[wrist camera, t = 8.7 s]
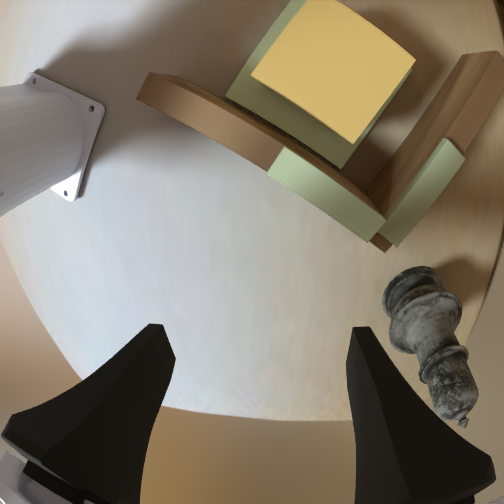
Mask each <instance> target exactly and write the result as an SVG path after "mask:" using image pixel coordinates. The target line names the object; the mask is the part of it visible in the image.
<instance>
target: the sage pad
mask: <svg viewBox="0 0 504 504" xmlns="http://www.w3.org/2000/svg"><path fill="white" fill-rule="evenodd" d="M306 1H307V0H291V1H290V2H289V3H288V5H287V6H286V7H285V9H284V10H283V11H282V12H281V14H280V15H279V16H278V18H277V19H276V20H275V22H274V23H273V24H272V26H271V27H270V29H269V30H268V31H267V33H266V34H265V36H264V37H263V38H262V40H261V41H260V43H259V44H258V45H257V47H256V48H255V50H254V51H253V53H252V54H251V56H250V57H249V59H248V60H247V62H246V63H245V65H244V66H243V68H242V69H241V71H240V72H239V74H238V75H237V77H236V79H235V80H234V82H233V83H232V85H231V87H230V88H229V90H228V91H227V93H226V95H225V97H227V98H229V99H231V100H233V101H235V102H236V103H238V104H240V105H242V106H243V107H245V108H247V109H249V110H250V111H252V112H254V113H256V114H257V115H259V116H261V117H262V118H264V119H266V120H267V121H269V122H271V123H272V124H274V125H276V126H277V127H279V128H280V129H282V130H284V131H285V132H287V133H288V134H290V135H292V136H293V137H295V138H296V139H298V140H299V141H301V142H302V143H304V144H305V145H307V146H308V147H310V148H311V149H313V150H314V151H316V152H317V153H319V154H320V155H321V156H323V157H324V158H326V159H327V160H329V161H330V162H331V163H333V164H334V165H336V166H337V167H338V168H340V169H341V168H342V167H343V166H344V164H345V163H346V162H347V160H348V159H349V158H350V156H351V155H352V154H353V152H354V151H355V149H356V148H357V147H358V145H359V144H360V143H361V141H362V140H363V138H364V137H365V136H366V134H367V133H368V132H369V130H370V129H371V127H372V126H373V125H374V123H375V122H376V121H377V119H378V118H379V116H380V115H381V114H382V112H383V111H384V109H385V108H386V107H387V105H388V104H389V102H390V101H391V100H392V98H393V97H394V95H395V94H396V93H397V91H398V90H399V88H400V87H401V85H402V84H403V83H404V81H405V80H406V78H407V77H408V75H409V74H410V73H411V71H412V69H411V68H410V69H409V70H408V72H407V73H406V75H405V76H404V77H403V79H402V80H401V81H400V83H399V84H398V85H397V87H396V88H395V89H394V91H393V92H392V93H391V95H390V96H389V97H388V99H387V100H386V101H385V103H384V104H383V105H382V107H381V108H380V109H379V111H378V112H377V113H376V115H375V116H374V117H373V119H372V120H371V121H370V123H369V124H368V125H367V127H366V128H365V129H364V131H363V132H362V133H361V135H360V136H359V137H358V138H357V140H356V141H355V142H354V144H352V143H351V142H349V141H348V140H346V139H345V138H343V137H342V136H340V135H339V134H337V133H335V132H334V131H333V130H331V129H330V128H329V127H327V126H326V125H324V124H323V123H322V122H320V121H319V120H317V119H316V118H315V117H313V116H312V115H310V114H309V113H307V112H306V111H304V110H303V109H301V108H300V107H298V106H297V105H295V104H294V103H292V102H291V101H289V100H288V99H286V98H285V97H283V96H281V95H280V94H278V93H277V92H275V91H273V90H272V89H270V88H268V87H267V86H265V85H263V84H262V83H260V82H259V81H258V80H256V79H255V78H254V77H252V76H251V74H252V73H253V71H254V70H255V68H256V67H257V65H258V64H259V63H260V61H261V60H262V58H263V57H264V56H265V54H266V53H267V51H268V50H269V49H270V47H271V46H272V45H273V43H274V42H275V41H276V39H277V38H278V37H279V35H280V34H281V33H282V31H283V30H284V29H285V27H286V26H287V25H288V24H289V22H290V21H291V20H292V19H293V17H294V16H295V15H296V14H297V12H298V11H299V10H300V9H301V7H302V6H303V5H304V4H305V3H306Z"/></svg>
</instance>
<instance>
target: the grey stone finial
mask: <svg viewBox="0 0 504 504" xmlns="http://www.w3.org/2000/svg"><path fill="white" fill-rule="evenodd" d="M382 304H383V308H384V311H385V313H386V314H387V315H388V316H389V317H390V318H391V325H390V330H389V339H390V343H391V344H392V346H393V347H394V348H395V349H396V350H398V351H399V352H402V353H406V354H416V355H417V358H418V361H419V364H420V367H421V368H420V371H419V379H420V381H421V382H423V383H425V384H427V385H428V388H429V391H430V395H431V398H432V402H433V405H434V408H435V412H436V414H437V415H438V417H439V418H441V419H443V420H459V423H458V425H461V427H463V428H466V425H467V424H468V420H469V418H466V415H467V414H468V413H469V411H470V410H471V409H472V408H473V406H474V405H475V404H476V402H477V398H478V395H479V394H478V389H477V386H476V383H475V381H474V379H473V376H472V374H471V371H470V369H469V367H468V364H467V360H468V356H469V353H468V350H467V348H466V347H464V346H461V345H460V344H459V342H458V340H457V338H456V336H455V334H454V331H455V330H456V328H457V326H458V324H459V322H460V319H461V316H462V305H461V302H460V300H459V299H458V298H457V296H456V295H455V294H453V293H450V292H448V291H447V290H445V289H443V288H442V281H441V279H440V277H439V275H438V274H437V273H436V272H435V271H434V270H433V269H430V268H428V267H421V266H420V267H413V268H410V269H408V270H405V271H403V272H402V273H400V274H399V275H397V276H396V277H395V278H394V279H393V280H392V281H391V282H390V283H389V285H388V286H387V288H386V289H385V292H384V295H383V300H382Z"/></svg>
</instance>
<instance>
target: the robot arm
mask: <svg viewBox="0 0 504 504" xmlns="http://www.w3.org/2000/svg"><path fill="white" fill-rule="evenodd" d="M92 106H94V111H92ZM104 113H105V108H104V106H103V105H102V104H100V103H98V102H96V101H94V100H92V99H90V98H88V97H86V96H83V95H81V94H79V93H77V92H75V91H73V90H71V89H69V88H66V87H64V86H62V85H60V84H58V83H55V82H53V81H51V80H49V79H46V78H44V77H42V76H40V75H37V74H35V73H28V74H27V75H26V77H25V80H24V83H23V84H18V85H11V86H5V87H0V217H1V216H2V215H4V214H5V213H7V212H9V211H10V210H12V209H14V208H15V207H17V206H19V205H20V204H22V203H24V202H25V201H27V200H29V199H31V198H32V197H34V196H36V195H38V194H39V193H41V192H43V191H45V190H47V189H49V188H51V189H52V190H54V191H55V192H56V193H58V194H59V195H61V196H62V197H64V198H65V199H67V200H68V201H70V202H73V201H75V200H76V199H77V196H78V193H79V189H80V185H81V181H82V178H83V174H84V171H85V168H86V164H87V161H88V158H89V155H90V152H91V149H92V146H93V143H94V140H95V137H96V134H97V131H98V129H99V126H100V123H101V121H102V118H103V115H104ZM67 192H68V194H67ZM175 360H176V358H175V355H174V353H173V350H172V348H171V345H170V343H169V340H168V337H167V335H166V332H165V329H164V327H163V325H162V324H148V325H147V326H146V327H145V328H144V329H143V330H141V331H140V332H139V333H138V334H137V335H136V336H135V337H134V338H133V339H132V340H131V341H129V342H128V343H127V344H126V345H125V346H124V347H123V348H122V349H121V350H120V351H118V352H117V353H116V354H115V355H114V356H113V357H112V358H111V359H109V360H108V361H107V362H106V363H105V364H103V365H102V366H101V367H100V368H99V369H97V370H96V371H95V372H94V373H92V374H91V375H90V376H88V377H87V378H86V379H84V380H83V381H82V382H80V383H78V384H77V385H75V386H74V387H73V388H71V389H69V390H67V391H66V392H64V393H62V394H60V395H59V396H57V397H55V398H53V399H51V400H49V401H47V402H45V403H43V404H41V405H38V406H36V407H33V408H31V409H28V410H25V411H22V412H19V413H16V414H12V416H11V418H10V419H9V421H8V423H7V425H6V426H5V428H4V430H3V432H2V434H1V438H2V439H3V440H4V441H5V442H7V443H8V444H9V445H10V446H11V447H13V448H14V449H15V450H16V451H18V452H19V453H20V454H21V455H22V456H24V457H25V458H26V459H28V461H27V463H24V462H23V461H21V460H20V459H19V458H17V457H16V456H14V455H13V454H12V453H10V452H9V451H8V450H6V451H5V452H4V454H3V456H2V458H1V460H0V500H1V501H2V502H3V503H4V504H140V491H141V481H142V474H143V467H144V462H145V457H146V452H147V447H148V443H149V439H150V435H151V431H152V428H153V425H154V422H155V419H156V417H157V414H158V412H159V409H160V406H161V404H162V401H163V399H164V396H165V394H166V391H167V389H168V386H169V383H170V381H171V377H172V373H173V369H174V365H175ZM346 374H347V388H348V394H349V400H350V406H351V413H352V419H353V425H354V432H355V441H356V489H355V504H474V503H475V499H474V495H475V494H476V493H478V492H480V491H482V490H483V489H485V488H486V487H488V486H490V485H491V484H492V483H494V481H495V480H496V475H495V470H494V465H493V462H492V459H491V457H490V456H489V455H488V454H486V453H485V452H483V451H481V450H480V449H478V448H476V447H475V446H473V445H472V444H470V443H469V442H468V441H466V440H465V439H464V438H462V437H461V436H460V435H458V434H457V433H456V432H455V431H454V430H453V429H451V428H450V427H449V426H448V425H447V424H446V423H445V422H444V421H442V420H441V419H440V418H439V417H438V416H437V415H436V414H435V413H434V412H433V411H432V410H431V409H430V408H429V407H428V406H427V405H426V404H425V403H424V401H423V400H422V399H421V398H420V397H419V396H418V395H417V393H416V392H415V391H414V390H413V389H412V387H411V386H410V385H409V384H408V382H407V381H406V380H405V379H404V377H403V376H402V375H401V373H400V372H399V370H398V369H397V368H396V366H395V365H394V363H393V362H392V361H391V359H390V358H389V356H388V355H387V353H386V352H385V350H384V349H383V347H382V346H381V344H380V342H379V341H378V339H377V338H376V336H375V334H374V333H373V331H372V329H371V328H370V327H369V326H367V327H353V329H352V334H351V340H350V345H349V350H348V355H347V360H346ZM487 504H504V496H501V497H499V498H497V499H495V500H493V501H491V502H489V503H487Z"/></svg>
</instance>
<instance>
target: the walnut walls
mask: <svg viewBox="0 0 504 504" xmlns="http://www.w3.org/2000/svg"><path fill="white" fill-rule="evenodd" d="M503 89H504V58H503V57H502V56H501V55H500V53H499V52H498V51H488V52H480V53H472V54H465V55H462V57H461V58H460V60H459V61H458V63H457V64H456V66H455V68H454V69H453V71H452V72H451V74H450V75H449V77H448V78H447V80H446V81H445V83H444V84H443V86H442V87H441V89H440V90H439V92H438V93H437V95H436V96H435V98H434V99H433V101H432V102H431V104H430V105H429V107H428V108H427V110H426V111H425V112H424V114H423V115H422V117H421V118H420V120H419V121H418V122H417V124H416V125H415V127H414V128H413V129H412V131H411V132H410V134H409V135H408V136H407V138H406V139H405V141H404V142H403V143H402V145H401V146H400V147H399V149H398V150H397V152H396V153H395V154H394V156H393V157H392V158H391V160H390V161H389V162H388V164H387V165H386V166H385V168H384V169H383V170H382V172H381V173H380V174H379V176H378V177H377V178H376V180H375V181H374V182H373V183H372V185H371V186H370V187H369V189H368V190H367V191H366V192H365V191H363V190H362V189H361V188H359V187H358V186H357V185H355V184H354V183H353V182H351V181H350V180H349V179H347V178H346V177H345V176H343V175H342V174H341V173H339V172H338V171H336V170H335V169H334V168H332V167H331V166H329V165H328V164H327V163H325V162H324V161H322V160H321V159H319V158H318V157H317V156H315V155H314V154H312V153H311V152H309V151H308V150H306V149H305V148H303V147H302V146H300V145H299V144H297V143H296V142H294V141H292V140H291V139H289V138H288V137H286V136H285V135H283V134H281V133H280V132H278V131H277V130H275V129H273V128H272V127H270V126H269V125H267V124H265V123H264V122H262V121H260V120H259V119H257V118H255V117H253V116H252V115H250V114H248V113H247V112H245V111H243V110H241V109H239V108H238V107H236V106H234V105H232V104H230V103H229V102H227V101H225V100H223V99H221V98H219V97H217V96H216V95H214V94H212V93H210V92H208V91H206V90H204V89H202V88H200V87H198V86H196V85H194V84H192V83H190V82H188V81H186V80H184V79H182V78H180V77H176V76H170V75H163V74H156V73H149V74H148V76H147V78H146V80H145V82H144V84H143V86H142V88H141V90H140V92H139V94H138V96H137V98H136V99H137V100H139V101H141V102H143V103H145V104H147V105H149V106H151V107H153V108H155V109H157V110H159V111H161V112H163V113H165V114H167V115H169V116H171V117H173V118H175V119H176V120H178V121H180V122H182V123H184V124H186V125H188V126H189V127H191V128H193V129H195V130H197V131H199V132H200V133H202V134H204V135H206V136H208V137H209V138H211V139H213V140H215V141H216V142H218V143H220V144H222V145H223V146H225V147H227V148H229V149H230V150H232V151H234V152H235V153H237V154H239V155H240V156H242V157H244V158H245V159H247V160H249V161H250V162H252V163H254V164H255V165H257V166H259V167H260V168H262V169H264V170H265V171H267V175H268V176H270V177H271V178H273V179H275V180H276V181H278V182H279V183H281V184H283V185H284V186H286V187H287V188H289V189H290V190H292V191H293V192H295V193H296V194H298V195H299V196H301V197H303V198H304V199H306V200H307V201H309V202H310V203H312V204H313V205H315V206H316V207H317V208H319V209H320V210H322V211H323V212H325V213H326V214H328V215H329V216H331V217H332V218H334V219H335V220H336V221H338V222H339V223H341V224H342V225H344V226H345V227H346V228H348V229H349V230H351V231H352V232H353V233H355V234H356V235H358V236H359V237H360V238H362V239H363V240H364V241H366V242H367V243H368V242H369V241H370V242H371V243H372V244H374V245H375V246H376V247H378V248H379V249H380V250H382V251H383V252H384V253H386V251H387V250H388V249H389V248H390V247H391V246H392V245H395V246H396V247H397V246H398V245H399V244H400V243H401V242H402V241H403V240H404V238H405V237H406V236H407V235H408V234H409V232H410V231H411V230H412V229H413V228H414V227H415V225H416V224H417V223H418V222H419V220H420V219H421V218H422V217H423V216H424V214H425V213H426V212H427V211H428V209H429V208H430V207H431V205H432V204H433V203H434V202H435V200H436V199H437V198H438V196H439V195H440V194H441V193H442V191H443V190H444V189H445V187H446V186H447V185H448V183H449V182H450V180H451V179H452V178H453V176H454V175H455V174H456V172H457V171H458V169H459V168H460V167H461V165H462V164H463V162H464V161H465V158H464V157H463V156H462V155H463V153H464V152H465V150H466V149H467V147H468V146H469V144H470V143H471V141H472V140H473V138H474V137H475V135H476V134H477V132H478V131H479V129H480V127H481V126H482V124H483V123H484V121H485V120H486V118H487V116H488V115H489V113H490V111H491V110H492V108H493V106H494V105H495V103H496V101H497V99H498V98H499V96H500V94H501V92H502V91H503Z"/></svg>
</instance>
